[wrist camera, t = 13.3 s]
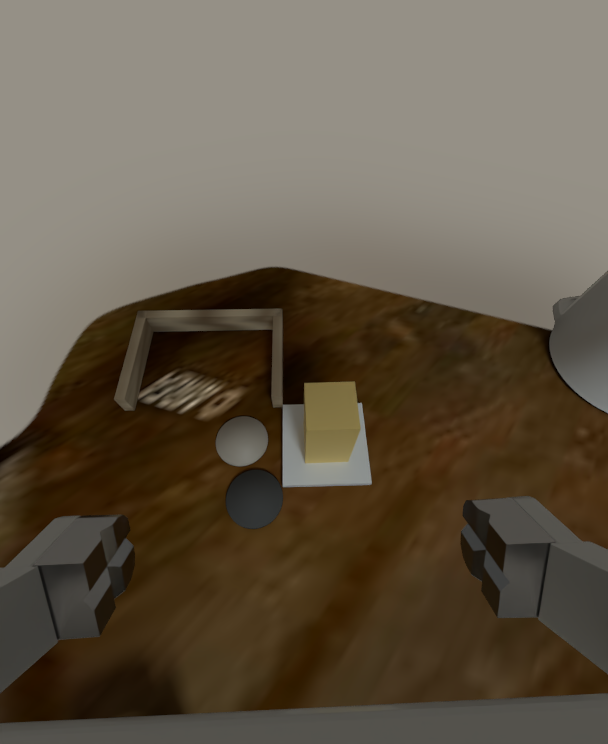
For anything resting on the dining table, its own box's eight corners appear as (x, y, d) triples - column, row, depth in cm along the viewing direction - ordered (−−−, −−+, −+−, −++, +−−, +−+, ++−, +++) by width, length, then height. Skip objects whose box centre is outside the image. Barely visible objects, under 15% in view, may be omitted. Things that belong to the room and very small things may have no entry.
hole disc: (272, 462, 34) (271, 461, 33) (290, 515, 31) (290, 514, 31) (220, 482, 33) (219, 481, 32) (235, 538, 30) (234, 537, 30)
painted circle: (258, 410, 36) (258, 409, 36) (275, 454, 34) (274, 454, 34) (210, 427, 35) (210, 426, 35) (223, 474, 33) (223, 473, 33)
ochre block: (344, 421, 35) (354, 381, 28) (348, 461, 33) (360, 428, 26) (303, 423, 35) (304, 383, 28) (305, 463, 33) (306, 430, 26)
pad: (360, 405, 37) (361, 403, 36) (370, 484, 33) (371, 483, 32) (283, 407, 37) (282, 404, 36) (282, 487, 32) (282, 485, 32)
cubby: (283, 322, 42) (282, 308, 40) (282, 407, 37) (281, 395, 35) (146, 325, 42) (138, 310, 40) (124, 410, 36) (113, 399, 34)
